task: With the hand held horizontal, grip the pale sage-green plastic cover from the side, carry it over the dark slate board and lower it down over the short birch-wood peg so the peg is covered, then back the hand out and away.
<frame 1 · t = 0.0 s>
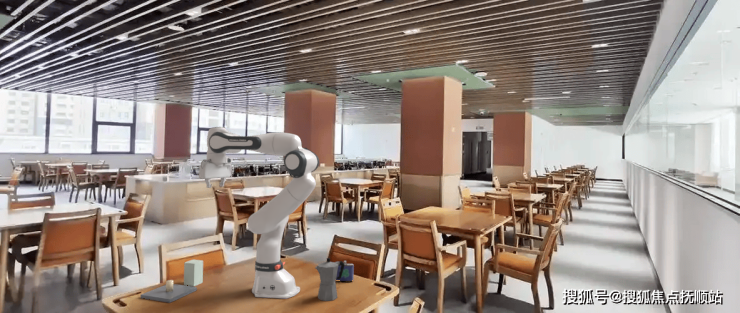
hand: (215, 187, 187), 48 cm above the table, tool pointing down, fingers open, 8 cm apart
board: (169, 294, 171), on the table
cover: (193, 283, 185), on the table
coffeepot: (329, 297, 172), on the table
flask: (344, 281, 194), on the table
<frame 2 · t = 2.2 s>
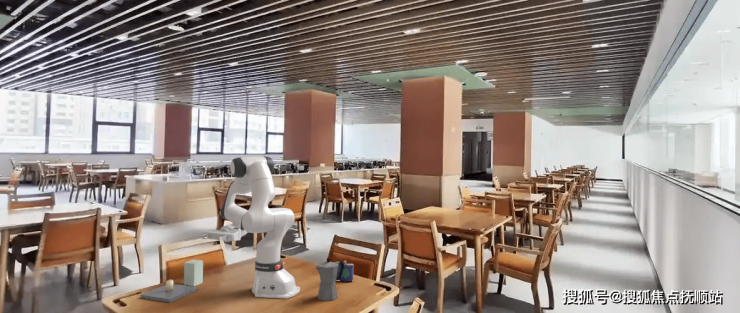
hand: (210, 238, 197), 20 cm above the table, tool horizontal, fingers open, 8 cm apart
nothing on the table moved.
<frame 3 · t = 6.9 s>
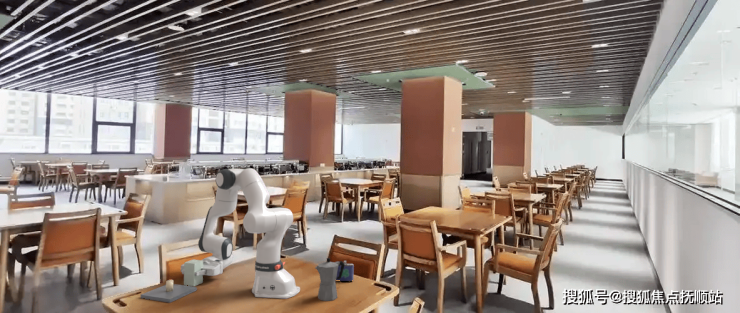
hand: (189, 273, 183), 6 cm above the table, tool horizontal, fingers closed on cover, 6 cm apart
cover: (193, 283, 185), on the table, touching gripper
everything else where it was.
when the fingers open (8 cm above the table, at t = 13.4 s): cover stays where it is, resting on board.
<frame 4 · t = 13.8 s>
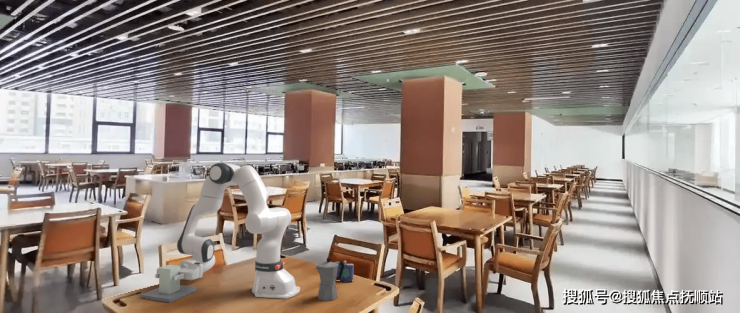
hand: (164, 277, 168), 8 cm above the table, tool horizontal, fingers open, 8 cm apart
cover: (169, 290, 171), point 1 cm above the table, touching board
everything else where it was.
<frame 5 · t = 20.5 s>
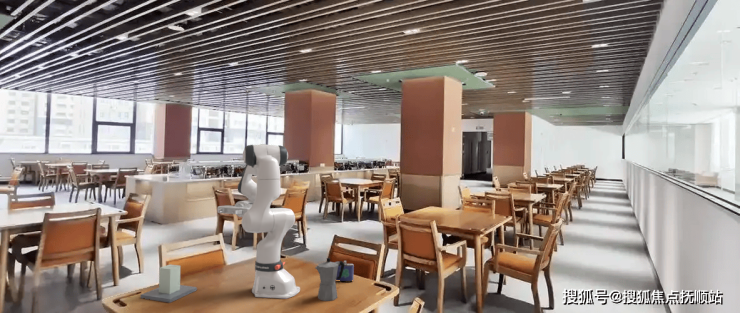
hand: (226, 212, 198), 34 cm above the table, tool horizontal, fingers open, 8 cm apart
nothing on the table moved.
at the end: cover 0.1 cm off-centre on the board, point 1.5 cm above the board's base; cover tilted 0°; the gripper is holding nothing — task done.
